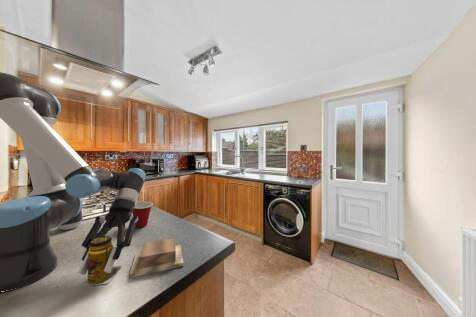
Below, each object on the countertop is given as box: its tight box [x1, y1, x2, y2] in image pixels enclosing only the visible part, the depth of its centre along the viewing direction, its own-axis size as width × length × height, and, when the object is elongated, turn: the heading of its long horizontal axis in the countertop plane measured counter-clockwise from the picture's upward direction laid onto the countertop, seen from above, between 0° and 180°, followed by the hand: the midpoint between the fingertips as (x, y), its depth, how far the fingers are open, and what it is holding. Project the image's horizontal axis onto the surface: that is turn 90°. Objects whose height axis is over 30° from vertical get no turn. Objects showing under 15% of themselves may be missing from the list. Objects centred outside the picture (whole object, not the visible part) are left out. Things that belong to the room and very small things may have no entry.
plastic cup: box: [132, 201, 154, 228], centre depth 93 cm, size 11×11×12 cm
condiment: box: [79, 235, 122, 287], centre depth 53 cm, size 7×8×12 cm
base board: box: [129, 237, 184, 278], centre depth 62 cm, size 16×13×5 cm
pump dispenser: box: [56, 210, 84, 231], centre depth 88 cm, size 10×10×15 cm
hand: (94, 272), depth 50 cm, fingers closed on condiment, 6 cm apart
